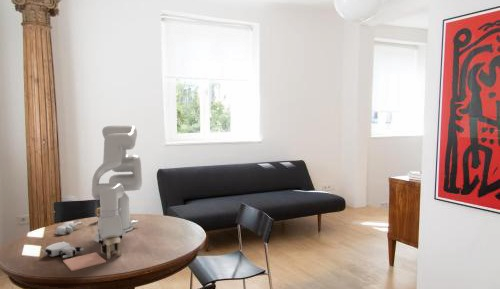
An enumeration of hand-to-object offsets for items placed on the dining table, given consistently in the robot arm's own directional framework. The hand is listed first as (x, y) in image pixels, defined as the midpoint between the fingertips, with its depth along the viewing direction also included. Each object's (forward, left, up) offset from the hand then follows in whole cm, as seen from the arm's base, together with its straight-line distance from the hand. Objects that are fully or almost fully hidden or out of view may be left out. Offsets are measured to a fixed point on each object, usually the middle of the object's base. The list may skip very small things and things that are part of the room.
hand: (110, 251), depth 170 cm
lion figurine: (-18, -61, -2) cm, 63 cm away
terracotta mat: (+12, +1, -1) cm, 12 cm away
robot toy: (+17, -14, -2) cm, 22 cm away
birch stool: (0, 0, -1) cm, 1 cm away
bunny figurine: (+6, -51, -2) cm, 51 cm away
